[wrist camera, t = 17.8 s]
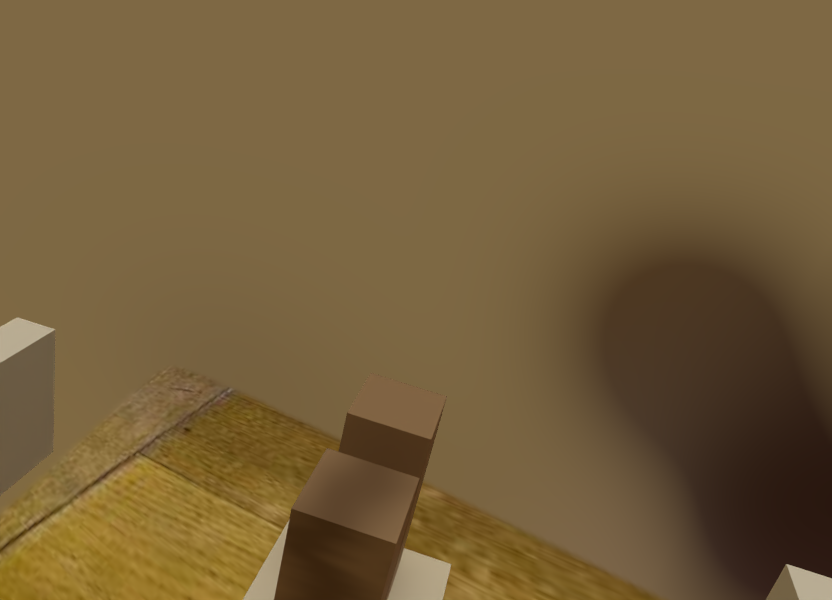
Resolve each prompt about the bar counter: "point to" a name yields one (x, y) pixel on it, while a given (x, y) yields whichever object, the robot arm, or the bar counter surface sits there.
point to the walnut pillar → (345, 531)
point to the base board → (406, 585)
